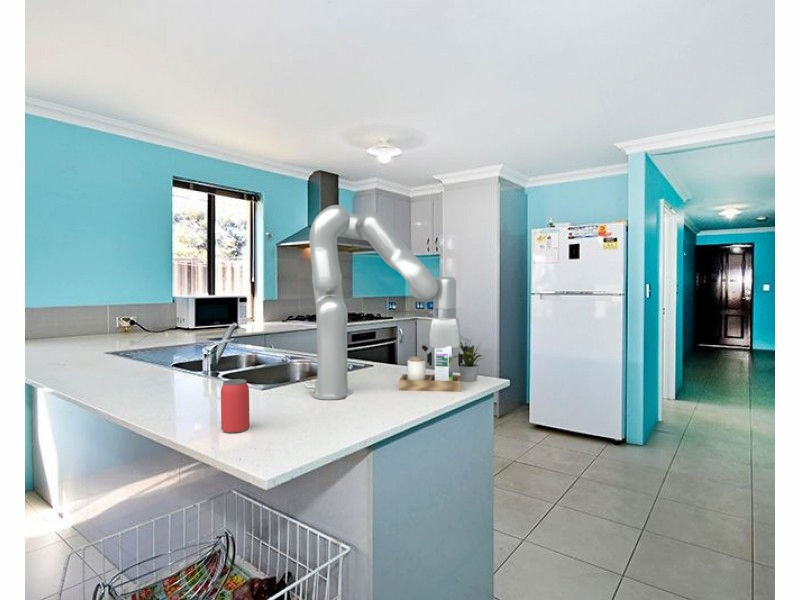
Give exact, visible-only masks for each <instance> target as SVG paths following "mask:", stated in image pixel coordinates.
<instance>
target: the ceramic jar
mask: <svg viewBox="0 0 800 600" xmlns="http://www.w3.org/2000/svg"><path fill="white" fill-rule="evenodd" d="M407 374H408V380H425V375H426V359H425V358H424V356H417V355H415V356H409V357H408V360H407Z"/></svg>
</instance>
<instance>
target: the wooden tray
mask: <svg viewBox="0 0 800 600" xmlns="http://www.w3.org/2000/svg"><path fill="white" fill-rule="evenodd" d="M398 391H410V392H411V391H415V392H445V393H446V392H447V393H448V392H449V393H451V392H454V393H461V391H462V381H461V375H460V374H459V375H456V374H455V375H454V374H453V381H435V374H425V380H408V373H407V374H404V373H403V374H402V375H401V376H400V378H399V380H398Z"/></svg>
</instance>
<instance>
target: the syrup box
mask: <svg viewBox="0 0 800 600" xmlns="http://www.w3.org/2000/svg"><path fill="white" fill-rule="evenodd" d="M453 351H454V349H452V346H448V347H445V348H435V349H434V375H435V381H453V375H454V367H453V366H454V364H453V363H454V358H453V357H454V352H453Z"/></svg>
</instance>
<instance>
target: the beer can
mask: <svg viewBox="0 0 800 600" xmlns="http://www.w3.org/2000/svg"><path fill="white" fill-rule="evenodd" d="M247 382H248V381H247V380H246V379H242V378H234V379H227V380H224V381H222V386H221V388H220V420H221V421H220V426H221V431H222V432H224V433H227V434H238V433H243V432H245V431H247V430H249V428H250V426H251V423H250V421H251V420H250V387H249V384H248V383H247Z"/></svg>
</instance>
